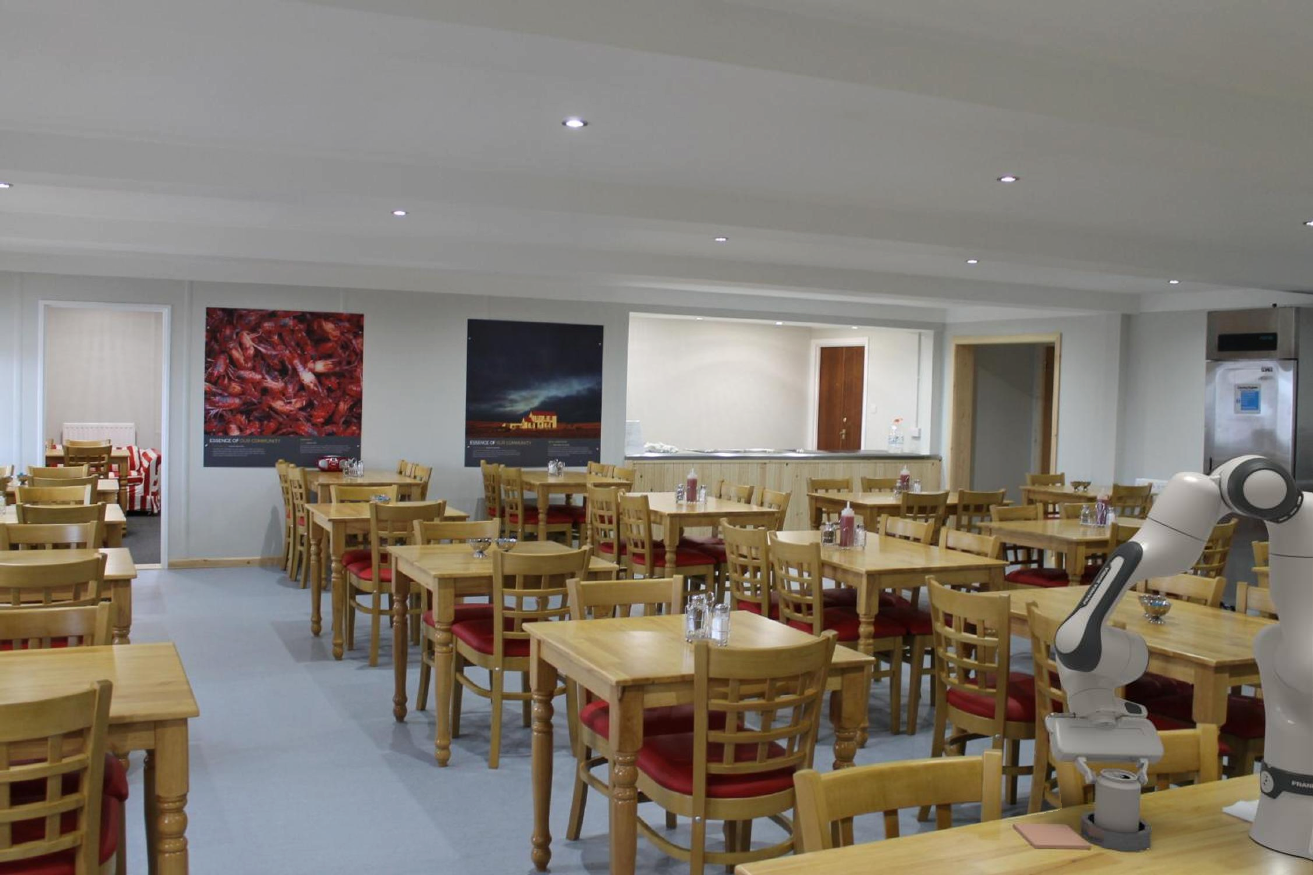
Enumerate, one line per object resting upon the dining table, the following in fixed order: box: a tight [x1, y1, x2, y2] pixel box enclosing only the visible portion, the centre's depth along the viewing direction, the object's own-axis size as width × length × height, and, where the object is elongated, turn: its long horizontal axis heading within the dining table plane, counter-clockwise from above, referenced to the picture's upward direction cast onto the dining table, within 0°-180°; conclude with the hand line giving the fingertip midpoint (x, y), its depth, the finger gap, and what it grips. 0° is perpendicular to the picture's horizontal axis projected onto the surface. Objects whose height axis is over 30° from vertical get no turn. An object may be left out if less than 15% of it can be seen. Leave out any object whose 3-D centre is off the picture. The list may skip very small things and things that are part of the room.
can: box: [1094, 767, 1142, 832], centre depth 203 cm, size 8×8×12 cm
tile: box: [1012, 822, 1092, 850], centre depth 202 cm, size 10×10×1 cm
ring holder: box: [1080, 809, 1152, 852], centre depth 203 cm, size 12×12×3 cm
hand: (1117, 782), depth 203 cm, fingers open, 8 cm apart
